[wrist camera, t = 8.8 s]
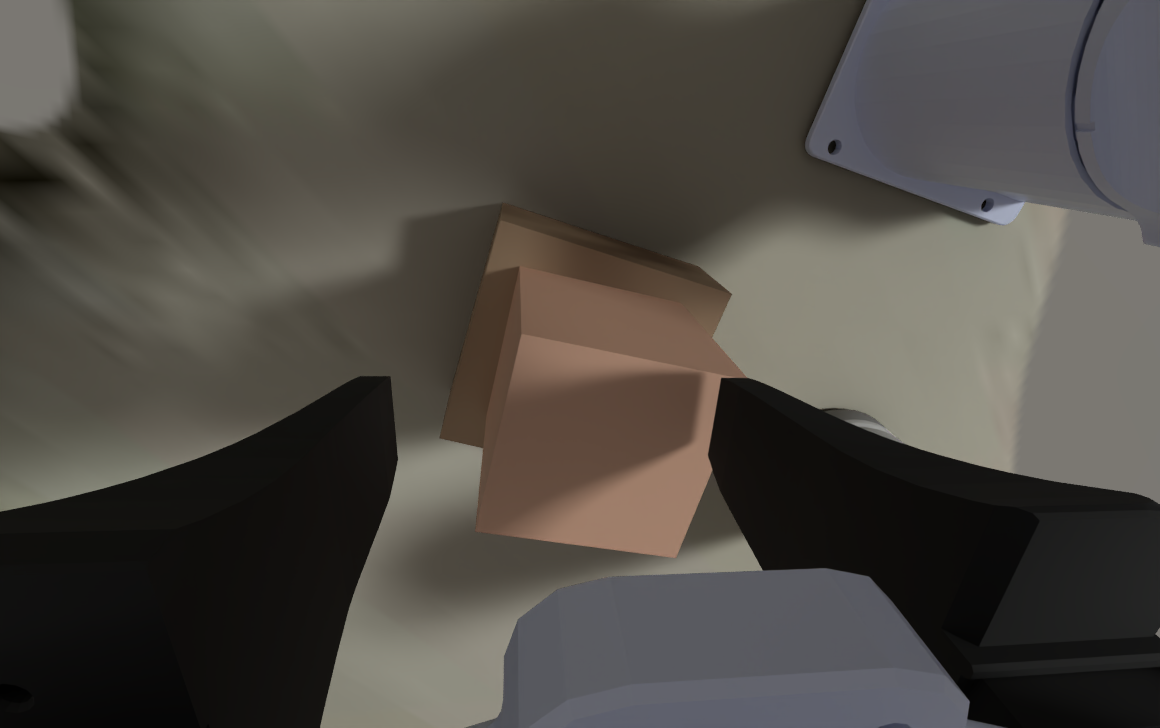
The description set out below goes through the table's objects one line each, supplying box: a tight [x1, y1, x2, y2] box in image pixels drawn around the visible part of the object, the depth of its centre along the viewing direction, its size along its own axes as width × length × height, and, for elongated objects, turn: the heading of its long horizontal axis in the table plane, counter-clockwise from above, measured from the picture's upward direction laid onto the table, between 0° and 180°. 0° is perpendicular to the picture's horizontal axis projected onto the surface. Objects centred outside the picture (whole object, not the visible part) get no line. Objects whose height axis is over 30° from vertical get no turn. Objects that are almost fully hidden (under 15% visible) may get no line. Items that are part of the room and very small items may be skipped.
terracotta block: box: [475, 266, 747, 558], centre depth 16 cm, size 6×6×6 cm
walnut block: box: [440, 203, 732, 448], centre depth 21 cm, size 8×8×4 cm
